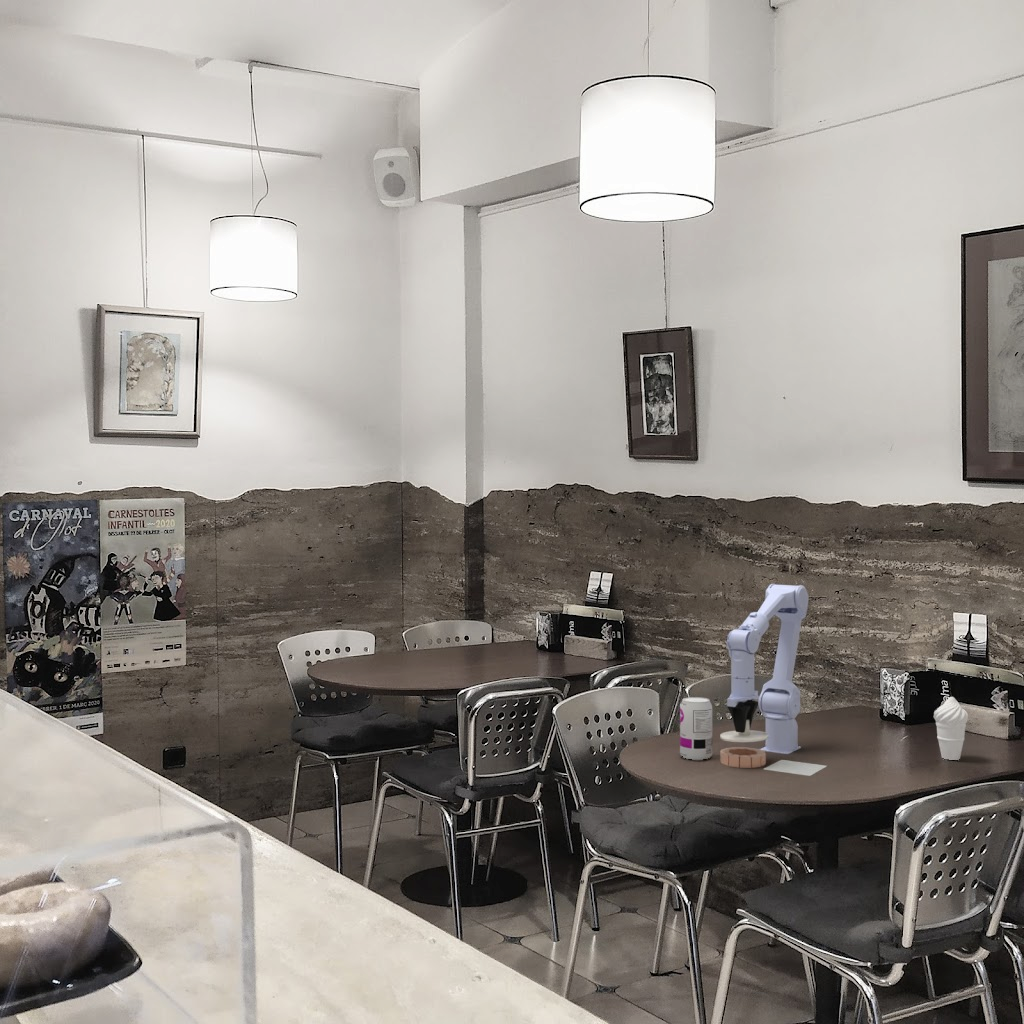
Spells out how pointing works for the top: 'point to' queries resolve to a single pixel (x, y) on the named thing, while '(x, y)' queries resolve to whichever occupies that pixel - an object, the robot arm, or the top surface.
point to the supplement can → (696, 728)
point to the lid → (744, 735)
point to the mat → (795, 767)
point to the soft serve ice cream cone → (951, 728)
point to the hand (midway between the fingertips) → (742, 730)
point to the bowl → (743, 757)
